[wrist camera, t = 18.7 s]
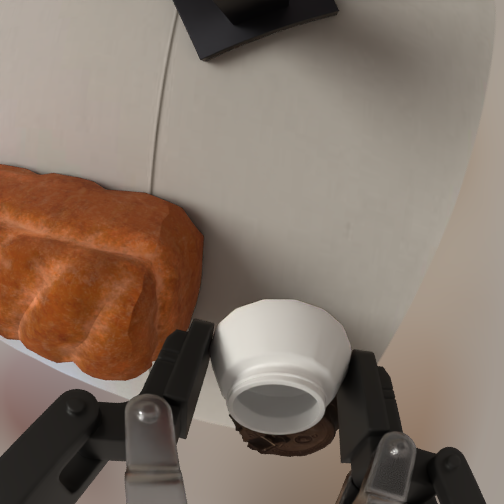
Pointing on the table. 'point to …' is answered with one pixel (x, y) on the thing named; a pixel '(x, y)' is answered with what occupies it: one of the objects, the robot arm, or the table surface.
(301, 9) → the bracket
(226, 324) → the white jar
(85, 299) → the bread
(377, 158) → the table surface
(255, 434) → the coffee cup
